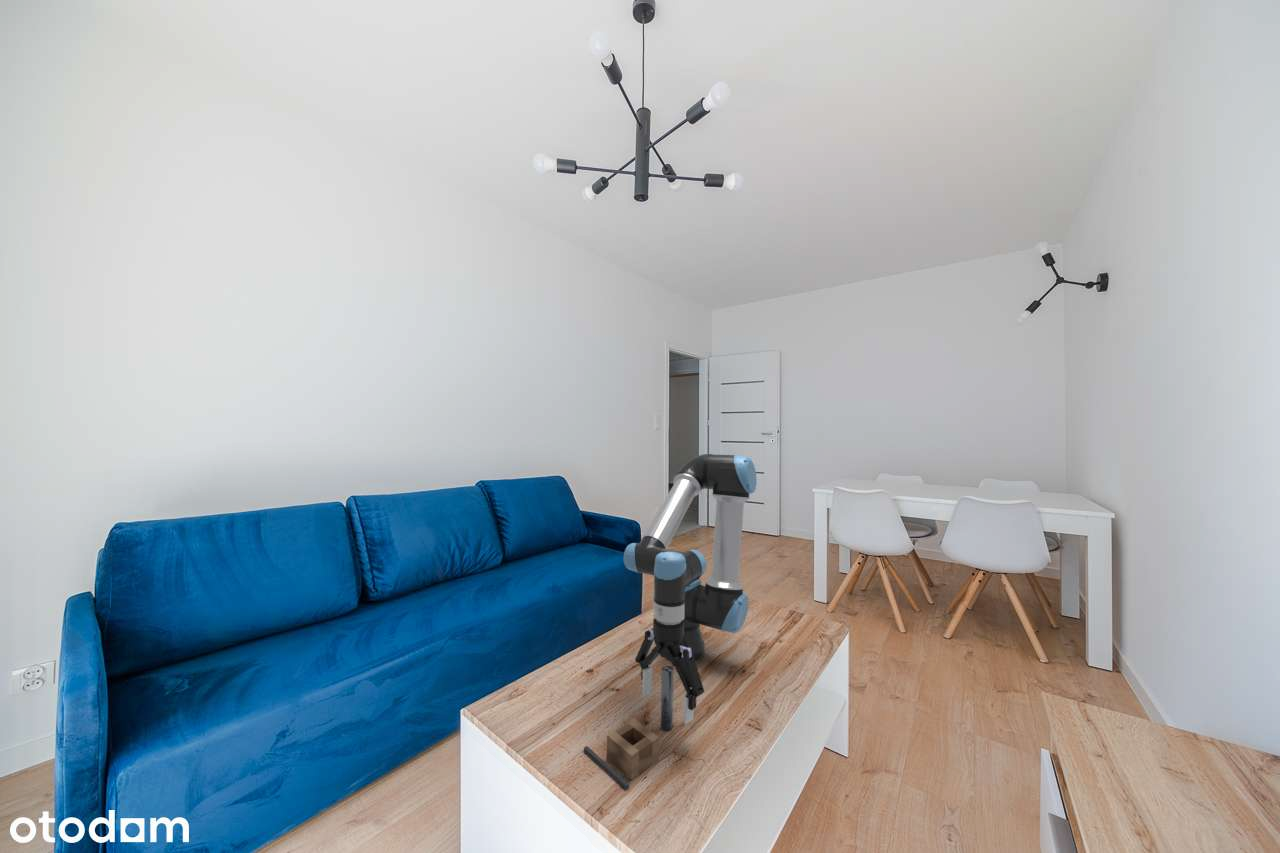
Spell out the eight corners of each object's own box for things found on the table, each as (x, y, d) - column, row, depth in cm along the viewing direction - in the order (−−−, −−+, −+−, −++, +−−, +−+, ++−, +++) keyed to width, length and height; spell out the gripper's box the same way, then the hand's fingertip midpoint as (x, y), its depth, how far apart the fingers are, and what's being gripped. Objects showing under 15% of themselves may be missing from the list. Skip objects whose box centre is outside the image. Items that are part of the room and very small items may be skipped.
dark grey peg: (658, 726, 104) (659, 668, 104) (666, 721, 106) (667, 664, 106) (666, 732, 102) (668, 673, 102) (674, 727, 104) (675, 669, 104)
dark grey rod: (583, 751, 96) (583, 747, 96) (586, 749, 96) (586, 745, 96) (626, 790, 86) (626, 786, 86) (628, 787, 86) (629, 783, 86)
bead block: (606, 758, 94) (607, 735, 94) (633, 740, 99) (634, 718, 99) (631, 780, 88) (632, 755, 88) (658, 760, 94) (659, 737, 94)
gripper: (623, 606, 111) (621, 689, 111) (699, 642, 93) (697, 742, 93) (643, 599, 116) (642, 678, 116) (720, 632, 98) (718, 726, 98)
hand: (666, 707), depth 104 cm, fingers open, 13 cm apart
